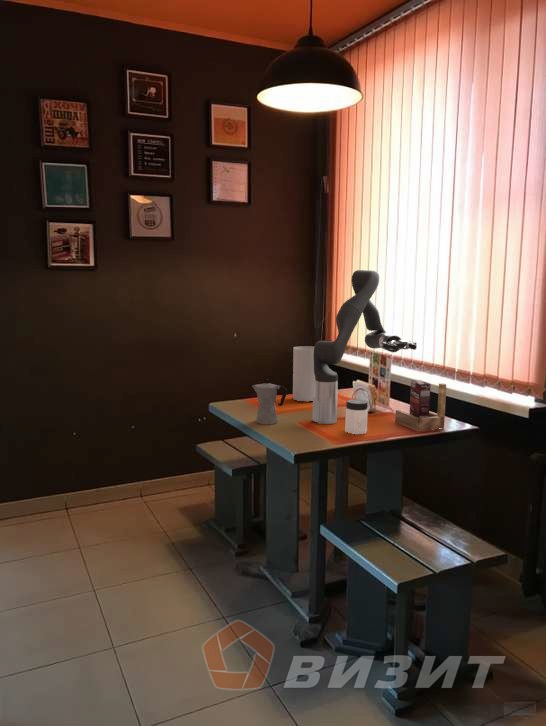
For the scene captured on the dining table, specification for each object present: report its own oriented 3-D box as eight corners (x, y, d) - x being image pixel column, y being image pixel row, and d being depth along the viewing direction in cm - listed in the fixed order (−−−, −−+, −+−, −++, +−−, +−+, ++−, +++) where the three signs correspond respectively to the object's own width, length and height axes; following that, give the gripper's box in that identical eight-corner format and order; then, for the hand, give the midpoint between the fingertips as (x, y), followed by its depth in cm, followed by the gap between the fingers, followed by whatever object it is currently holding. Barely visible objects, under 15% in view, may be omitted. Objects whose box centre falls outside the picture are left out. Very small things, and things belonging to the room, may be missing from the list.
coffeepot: (247, 423, 245) (247, 379, 242) (256, 417, 253) (256, 375, 250) (282, 427, 239) (282, 382, 236) (291, 421, 247) (291, 378, 244)
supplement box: (408, 418, 246) (410, 380, 244) (419, 417, 247) (421, 379, 245) (418, 423, 238) (419, 384, 235) (429, 423, 239) (431, 383, 236)
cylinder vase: (290, 397, 293) (291, 346, 289) (315, 396, 295) (316, 346, 291) (295, 403, 281) (296, 350, 277) (321, 402, 283) (323, 349, 279)
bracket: (418, 431, 233) (420, 386, 230) (395, 422, 248) (397, 379, 245) (443, 429, 238) (446, 384, 235) (419, 419, 252) (421, 377, 249)
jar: (348, 435, 228) (349, 404, 226) (341, 429, 236) (342, 399, 234) (371, 433, 230) (372, 403, 228) (363, 428, 238) (364, 398, 236)
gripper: (375, 334, 264) (390, 338, 248) (405, 333, 267) (422, 338, 251) (374, 351, 265) (389, 356, 249) (404, 350, 268) (421, 356, 252)
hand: (405, 347), depth 250 cm, fingers open, 8 cm apart
